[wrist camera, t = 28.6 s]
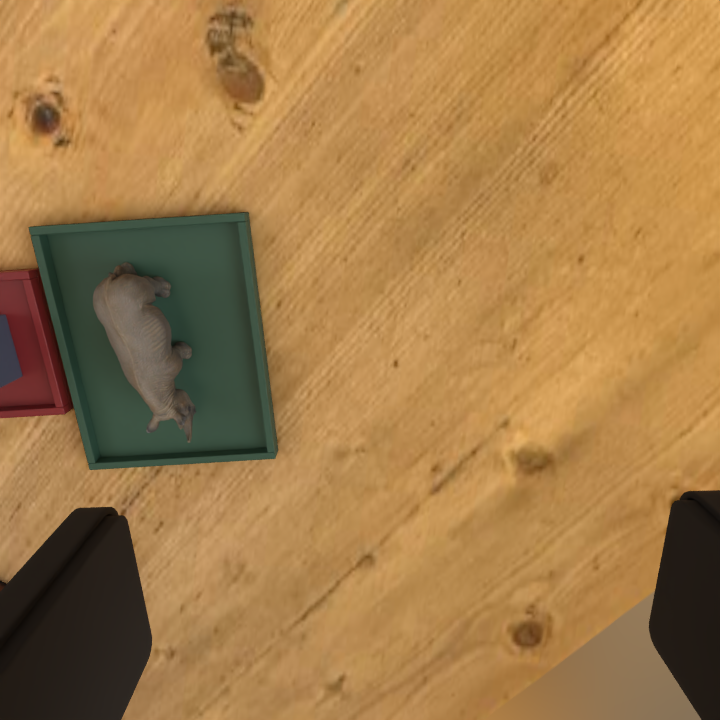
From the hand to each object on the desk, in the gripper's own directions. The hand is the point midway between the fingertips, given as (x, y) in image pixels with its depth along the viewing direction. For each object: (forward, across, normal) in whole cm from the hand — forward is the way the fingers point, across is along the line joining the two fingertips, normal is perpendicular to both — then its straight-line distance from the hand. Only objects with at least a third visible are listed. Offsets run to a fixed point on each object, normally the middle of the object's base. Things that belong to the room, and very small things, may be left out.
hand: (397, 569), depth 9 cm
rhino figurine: (+30, +16, +5) cm, 34 cm away
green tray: (+31, +16, +5) cm, 35 cm away
